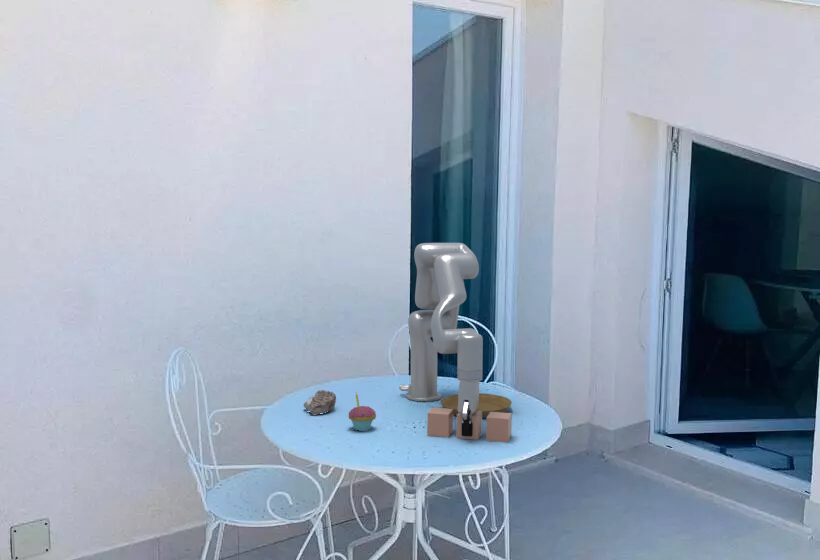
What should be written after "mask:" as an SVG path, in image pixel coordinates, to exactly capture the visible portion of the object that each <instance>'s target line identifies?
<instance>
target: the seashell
mask: <svg viewBox="0 0 820 560" xmlns="http://www.w3.org/2000/svg"><path fill="white" fill-rule="evenodd" d="M336 400H337V395H336V394H335V392H333V391H330V390H325V389H322V390H317V391H316V392H315V394H314V395H310V396H309V397H308V399H306V401H304V403H303V408H305V409H306V410H307V409H308V411H310V413H309V414H311V413H312V414H320V413H325V412H327V411H329V412H330V411H332V410H333V409H334V408H335V405H336V402H337V401H336ZM327 413H328V412H327ZM312 414H311V415H312ZM325 414H326V413H325Z"/></svg>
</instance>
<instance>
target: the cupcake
mask: <svg viewBox="0 0 820 560" xmlns="http://www.w3.org/2000/svg"><path fill="white" fill-rule="evenodd" d="M355 399H356V400H355V401H356V407H353V408H352V409H350V410H349V412H348V419H349V420H350V421H351V422H352V425H353V428H354V430H355V429H356V430H355V431H357V430H359V431H358V432H367V431H369V430H370V429H371V425H372V423H373V421H374V420H376V418H377V412H376V411H375V410H374V409H373V408H372V407H370V406H368V405H367V406H366V405H360V400H359V395H358V393H357V392H355ZM366 430H367V431H366Z"/></svg>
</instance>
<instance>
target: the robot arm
mask: <svg viewBox="0 0 820 560" xmlns="http://www.w3.org/2000/svg"><path fill="white" fill-rule="evenodd" d="M413 255H414V257H413V258H414V263H415V266H416V282H415V291H414V293H415V294H414V301H415V305H416V307H417V308H419V310H415V311H412V312H411V313H410V314H409V316H408V319H407V325H408V326H407V327H408V330H409V331H408V332H409V333H408V334H409V341H410V343H409V344H410V383H409V384H399V388H398V389H399V390H400V391H401V392H407V393H406V396H405V397H406V399H408V400H409V401H413V400H414V402H423V401H425V402H434V401H439V400H441V399H442V393H441V392H439V391H438V353H439V354H441V355H449V354H450V355H451V354H457V359H456V360H457V366H456V369H457V372H456V373H457V378H456V379H457V380H458V381H459V385H458V394H459V395H458V413H461V412H462V411H463V413H462V436H470V437H471V436H472V432H473V423H471V422H472V414H473V413H474V412H475V411H477V408H478V406H479V393H480V381H483V362H484V361H483V355H484V354H483V352H484V351H483V350H484V349H483V346H484V342H483V341H484V339H483V336H482V335H481V334H480V333H479V332H478V331H477V330H475V329H474V328H471V327H469V328H458V321H459V318H458V317H459V312H460V305H462V304H464V302H465V301H466V300H467V291H466V287H465V281H464V280H469V279H470V280H471V279H476V278H477V277H478V275H479V273H480V272H479V271H480V266H479V261H478V258H477V256H476V254H475V253H474V252H473V251H472V250H471V249H470V248H469V247H468V246H467V245H466V244H465V243H462V242H423V243H419V244H417V245H416V247H415V249H414V254H413ZM431 338H432V339H431ZM468 411H471V412H470V413H468ZM468 415H470V418H469V416H468Z"/></svg>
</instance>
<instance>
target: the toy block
mask: <svg viewBox="0 0 820 560" xmlns="http://www.w3.org/2000/svg"><path fill="white" fill-rule="evenodd" d="M470 412H471V411H468V413H470ZM462 413H463V411H462V412H461V413H458V414H457V415H456V439H464V440H465V439H466V440H477V441H478V440H479V438H480V437H481V436H482V434H483V418H482V411H475V412H474V413H473V414H472V422H471V423H473V432H472V436H471V437H470V436H462ZM468 416H469V418H470V415H468Z"/></svg>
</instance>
